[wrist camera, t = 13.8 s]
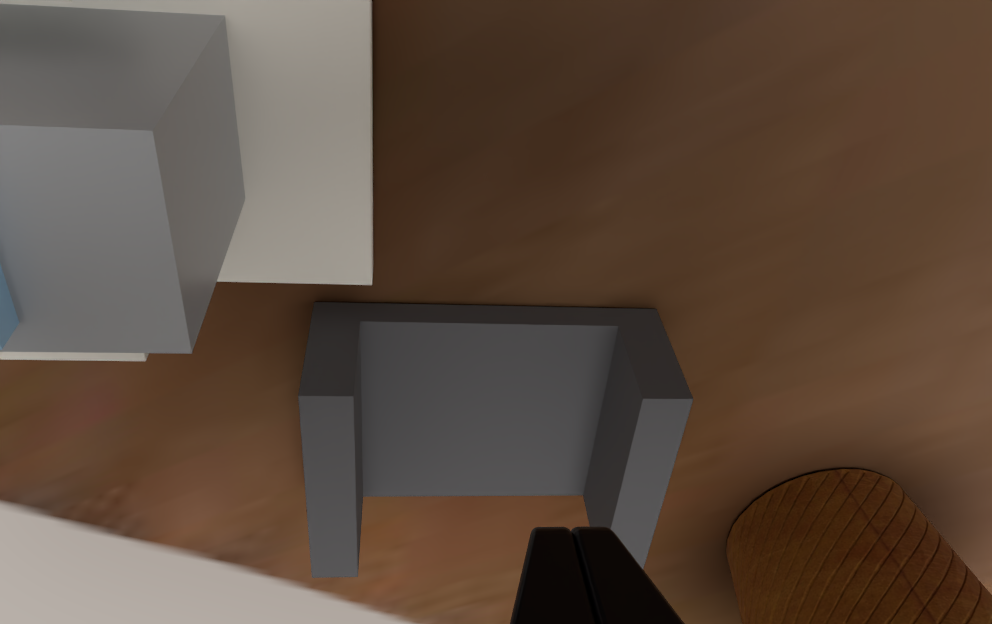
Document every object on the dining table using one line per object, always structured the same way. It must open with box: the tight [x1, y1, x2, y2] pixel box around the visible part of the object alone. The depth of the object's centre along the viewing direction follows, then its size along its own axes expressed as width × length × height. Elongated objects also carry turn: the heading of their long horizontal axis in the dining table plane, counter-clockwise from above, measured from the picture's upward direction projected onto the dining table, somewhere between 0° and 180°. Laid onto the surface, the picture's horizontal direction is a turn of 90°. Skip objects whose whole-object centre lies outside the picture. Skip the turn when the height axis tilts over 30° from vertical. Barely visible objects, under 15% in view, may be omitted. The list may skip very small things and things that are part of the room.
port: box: [0, 0, 373, 361], centre depth 16 cm, size 10×8×4 cm
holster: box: [298, 302, 693, 578], centre depth 22 cm, size 9×6×4 cm
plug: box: [0, 4, 245, 353], centre depth 14 cm, size 6×4×6 cm, turn 86°
